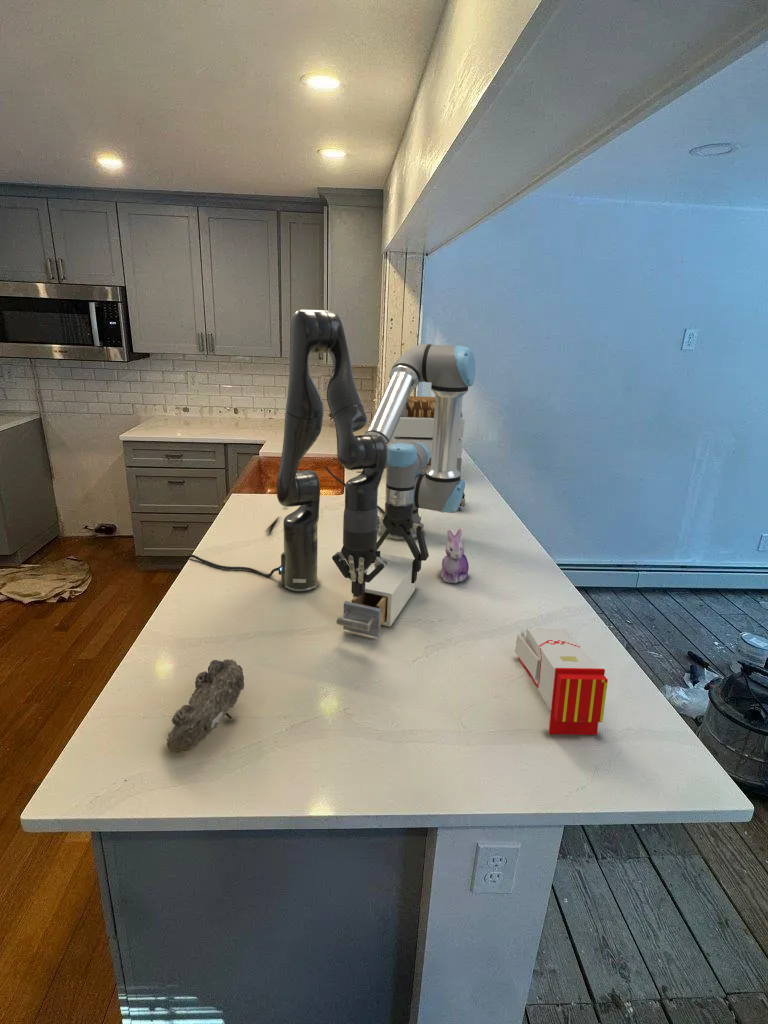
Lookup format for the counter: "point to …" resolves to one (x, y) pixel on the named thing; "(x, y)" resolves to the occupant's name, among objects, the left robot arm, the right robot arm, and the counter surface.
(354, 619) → the drawer
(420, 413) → the transformer
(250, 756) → the counter surface
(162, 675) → the counter surface
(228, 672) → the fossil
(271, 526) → the feather
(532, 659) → the toy
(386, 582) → the cabinet
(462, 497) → the figurine character
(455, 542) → the figurine
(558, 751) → the counter surface
